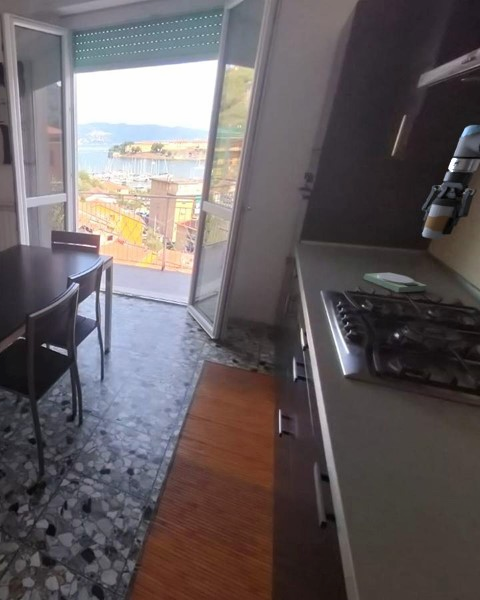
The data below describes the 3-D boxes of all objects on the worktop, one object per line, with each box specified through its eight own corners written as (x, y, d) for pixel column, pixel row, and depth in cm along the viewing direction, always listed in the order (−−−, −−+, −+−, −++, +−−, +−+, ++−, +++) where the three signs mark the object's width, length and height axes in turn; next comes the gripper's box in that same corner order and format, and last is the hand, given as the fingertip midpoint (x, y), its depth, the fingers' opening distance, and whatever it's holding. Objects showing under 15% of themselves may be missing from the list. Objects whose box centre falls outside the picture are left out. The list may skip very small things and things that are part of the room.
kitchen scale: (424, 290, 147) (427, 283, 145) (397, 292, 145) (400, 285, 144) (388, 277, 161) (391, 270, 160) (363, 278, 159) (365, 272, 158)
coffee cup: (443, 236, 144) (460, 198, 137) (448, 241, 137) (467, 201, 131) (416, 233, 148) (431, 196, 141) (420, 237, 141) (437, 199, 135)
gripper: (424, 169, 141) (402, 226, 150) (484, 173, 122) (454, 238, 132) (441, 168, 142) (418, 225, 151) (502, 173, 123) (472, 237, 133)
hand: (435, 231), depth 142 cm, fingers closed on coffee cup, 7 cm apart
